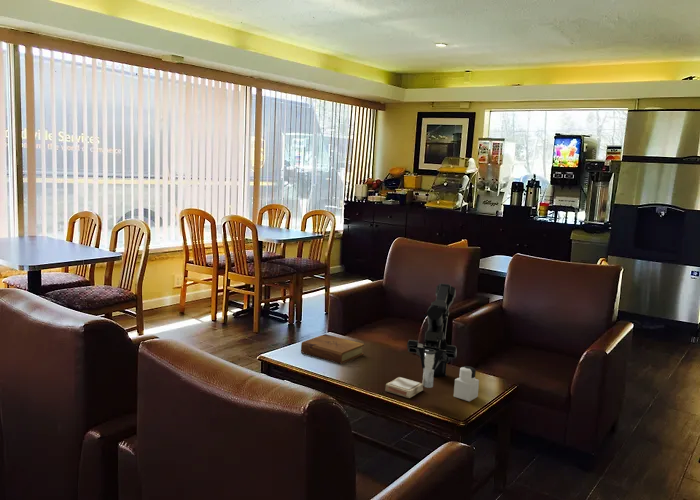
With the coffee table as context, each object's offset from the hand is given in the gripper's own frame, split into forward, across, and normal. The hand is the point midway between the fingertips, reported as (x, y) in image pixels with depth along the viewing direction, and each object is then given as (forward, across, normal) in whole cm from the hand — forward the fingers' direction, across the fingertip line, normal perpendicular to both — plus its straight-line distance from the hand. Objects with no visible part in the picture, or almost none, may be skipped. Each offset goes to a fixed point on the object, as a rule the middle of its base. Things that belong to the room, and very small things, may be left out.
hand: (428, 368), depth 216 cm
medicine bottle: (+1, +14, +18) cm, 23 cm away
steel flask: (+4, 0, +6) cm, 7 cm away
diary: (-18, -51, +39) cm, 66 cm away
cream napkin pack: (+3, -10, +16) cm, 19 cm away
